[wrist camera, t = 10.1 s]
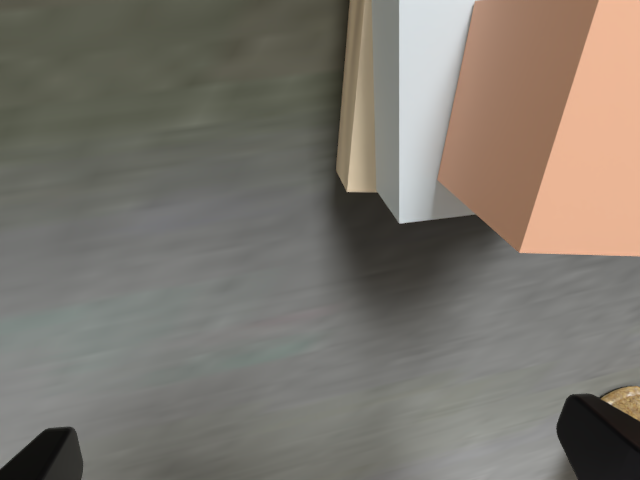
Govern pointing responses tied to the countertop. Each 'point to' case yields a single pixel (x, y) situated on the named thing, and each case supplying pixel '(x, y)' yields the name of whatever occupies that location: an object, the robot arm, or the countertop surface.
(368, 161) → the oak base slab
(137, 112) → the countertop surface
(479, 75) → the terracotta cube
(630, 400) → the sprinkles bottle
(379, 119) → the grey-blue top slab
